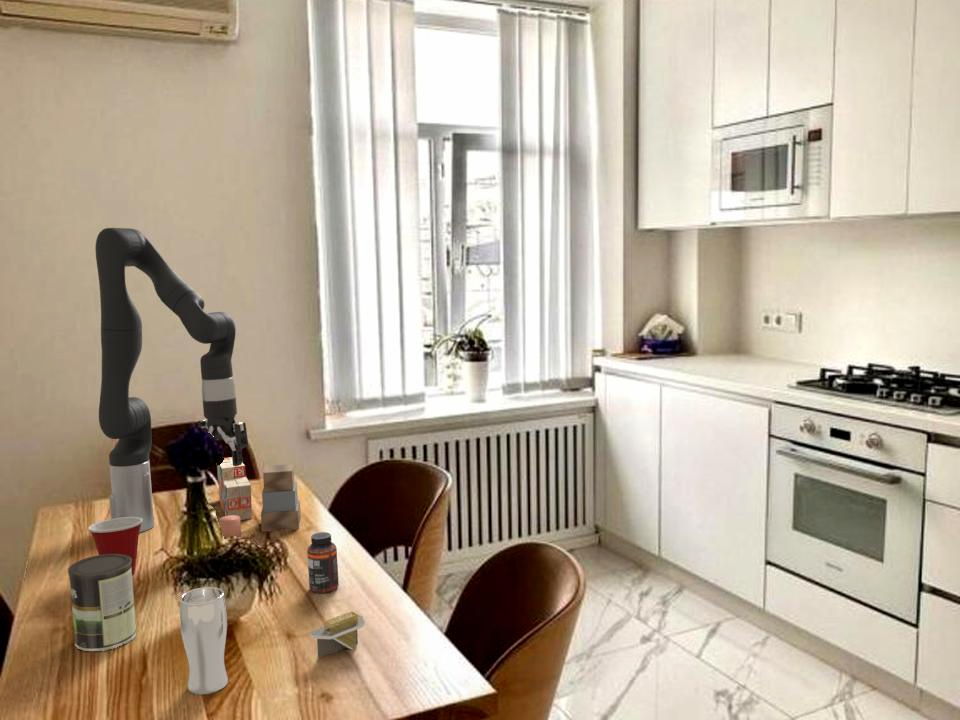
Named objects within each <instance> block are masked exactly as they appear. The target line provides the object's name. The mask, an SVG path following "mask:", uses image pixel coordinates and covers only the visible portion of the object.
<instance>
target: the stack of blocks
mask: <svg viewBox="0 0 960 720" xmlns="http://www.w3.org/2000/svg"><path fill="white" fill-rule="evenodd" d="M223 458H224V460H223V462H222V463H221V464H220V465H218V466H217V465H216V467H217V468H216V469H217V472H216V473H217V481H218V497H219V499H218V500H219V502H220V503H219V504H220V506H221V509H222V510H223V512H224V515H225V516H229V515H237V516H240V521H244V520H251V519H253V513H252V508H253V507H252V485H251V483H250V481H249V479H248V478H247V475H246V474H247V473H246V465H245V464H244V463H243V462H244V461H242V464H241V465H239V466H233V461H232V456H231V457H229V456H228V457H223Z"/></svg>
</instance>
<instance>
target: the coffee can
mask: <svg viewBox="0 0 960 720" xmlns="http://www.w3.org/2000/svg"><path fill="white" fill-rule="evenodd" d="M131 564H132V559H131V558H130V557H129V556H127V555H123V554H103V555H99V554H97V555H93V556H88V557H86V558H83V559H79V560H77V561H76V562H74V563H72V564H71V565H69V567H68V569H67V573H68V576H69V589H70V599H71V609H72V620H73V621H72V622H73V623H72V624H73V635H74V647H75V646H76V647H77V648H78V649H81V650H86V651H102V650H108V649H112V650H114V649H113V648H115V649H118V648H120V647H119V646H121V647H123V646H124V645H123V644H125V645H127V644H128V642H129V643H130V642H132V641H133V640H134V639H135V638H136V636H137V632H138V631H137V626H136V613H135V612H136V611H135V599H134V598H135V597H134V587H133V585H134V584H133V576H132V570H131ZM131 640H132V641H131ZM126 643H127V644H126ZM122 645H123V646H122ZM76 647H75V648H76ZM117 647H118V648H117ZM77 648H76V649H77ZM78 649H77V650H78ZM108 651H109V650H108Z"/></svg>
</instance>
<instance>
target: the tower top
mask: <svg viewBox="0 0 960 720" xmlns="http://www.w3.org/2000/svg"><path fill="white" fill-rule="evenodd" d="M294 466H295V465H294V463H290V464H275V465H274V464H273V465H265V466H264V469H263V472H262V473H263V474H262V476H263V477H262V478H263V489H264V492H279V491H293V488H294V483H295V467H294Z"/></svg>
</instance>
